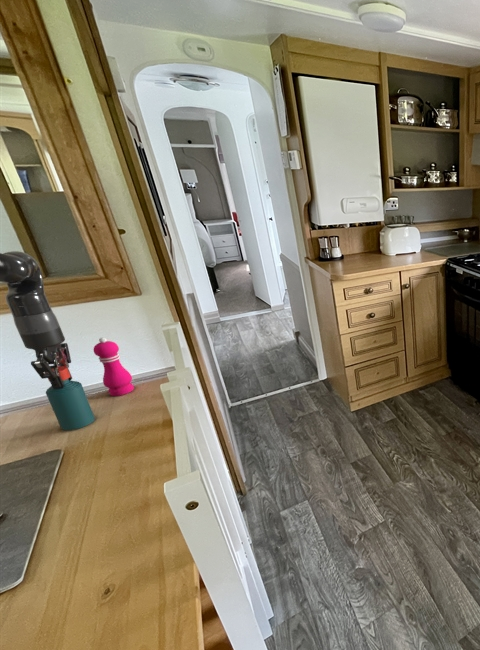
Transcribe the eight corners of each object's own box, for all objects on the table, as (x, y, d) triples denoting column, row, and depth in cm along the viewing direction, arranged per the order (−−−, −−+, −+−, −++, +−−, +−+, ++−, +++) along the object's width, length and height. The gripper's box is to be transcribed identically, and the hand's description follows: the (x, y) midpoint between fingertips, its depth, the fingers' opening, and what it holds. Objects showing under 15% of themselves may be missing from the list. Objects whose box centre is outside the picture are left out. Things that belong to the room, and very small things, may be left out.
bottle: (55, 432, 107) (32, 380, 101) (68, 419, 113) (47, 368, 107) (88, 427, 110) (67, 376, 103) (99, 414, 116) (80, 365, 110)
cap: (46, 383, 103) (41, 374, 102) (53, 376, 107) (49, 367, 106) (66, 380, 105) (63, 371, 104) (73, 374, 109) (69, 365, 108)
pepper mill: (118, 386, 132) (98, 333, 124) (140, 385, 132) (122, 333, 125) (102, 397, 125) (80, 342, 117) (125, 396, 126) (105, 341, 118)
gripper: (44, 335, 96) (69, 393, 102) (70, 318, 108) (91, 371, 114) (3, 339, 93) (31, 399, 99) (34, 321, 105) (57, 375, 111)
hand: (63, 383), depth 107 cm, fingers closed on cap, 4 cm apart
